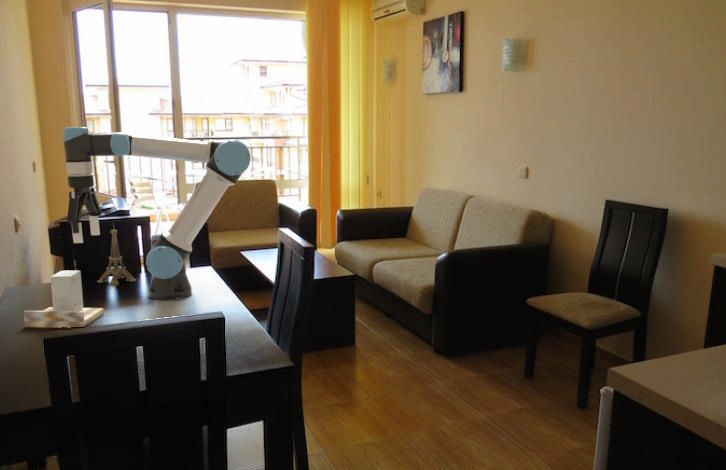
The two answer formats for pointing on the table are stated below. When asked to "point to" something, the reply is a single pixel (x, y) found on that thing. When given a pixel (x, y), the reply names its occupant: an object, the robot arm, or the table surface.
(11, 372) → the table surface
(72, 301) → the small box
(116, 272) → the eiffel tower
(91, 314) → the shelf board
